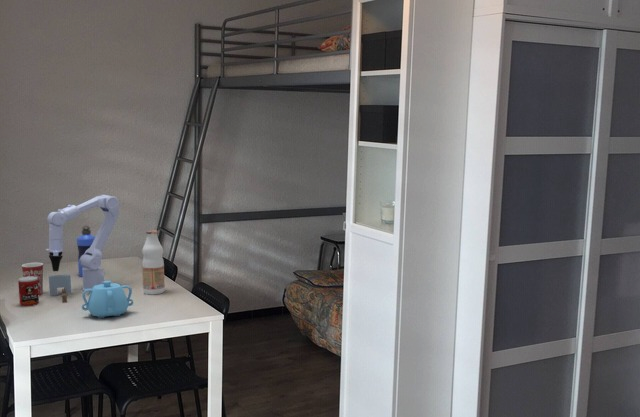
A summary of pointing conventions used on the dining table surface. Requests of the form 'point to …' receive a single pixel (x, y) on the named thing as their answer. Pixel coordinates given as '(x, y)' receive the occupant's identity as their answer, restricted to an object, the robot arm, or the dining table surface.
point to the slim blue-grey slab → (59, 283)
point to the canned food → (28, 291)
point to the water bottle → (84, 245)
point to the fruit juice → (153, 265)
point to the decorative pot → (107, 299)
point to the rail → (64, 295)
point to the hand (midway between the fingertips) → (55, 269)
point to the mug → (34, 273)
